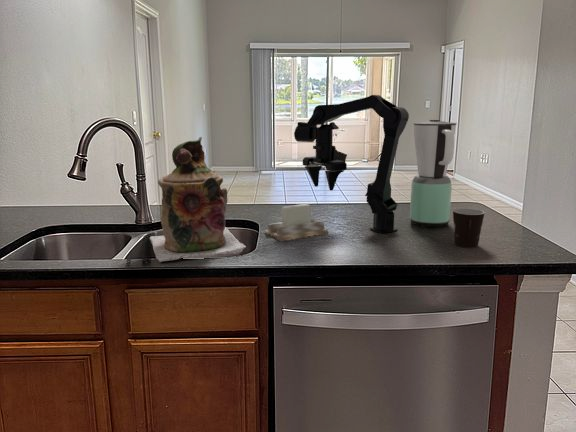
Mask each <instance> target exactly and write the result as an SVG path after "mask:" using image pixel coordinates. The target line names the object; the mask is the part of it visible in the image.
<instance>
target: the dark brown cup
mask: <svg viewBox="0 0 576 432" xmlns="http://www.w3.org/2000/svg"><path fill="white" fill-rule="evenodd" d="M484 217H485V211H483V210H481V209H476V208H469V207H468V208H466V207H465V208H462V207H461V208H456V209H453V210H452V219H453V220H452V221H453V235H454V238H453V239H454V245H455V246H457V247H459V248H464V249H465V248H466V249H474V248H477V247H478V246H479V243H480V236H481V233H482V227H483V224H484V223H483V222H484Z"/></svg>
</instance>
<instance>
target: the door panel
mask: <svg viewBox="0 0 576 432" xmlns="http://www.w3.org/2000/svg"><path fill="white" fill-rule="evenodd" d="M311 218H312V205H311V204H308V203H302V204H295V205H287V206H286V205H285V206H281V222H282V227H286V226H293V225H299V224H306V223H311Z"/></svg>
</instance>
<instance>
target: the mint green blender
mask: <svg viewBox="0 0 576 432" xmlns="http://www.w3.org/2000/svg"><path fill="white" fill-rule="evenodd" d="M456 127H457V122H448V121H444V120H443V121H442V120H440V119H429V120H426V121H420V122H419V121H418V122H414V123H413V134H414V135H413V137H414V145H415V155H416V164H417V166H416V167H417V172H418V173H417V174H416V175H415V176H414V177H413V179H412V181H411V191H410V204H409V205H410V207H409V209H410V210H409V221H410V223H411V224H414V225H418V226H420V227H421V229H422V230H423V229H424V230H426V229H428V227H442V228H448V227H449V223H450V220H451V219H450V218H451V207H452V206H451V204H452V202H451V201H452V180H451V179H450V177H449V176H448V175H447V172H448V166H449V165H450V163H451V162H452V161H453V159H454V152H455V151H454V150H455V134H456V129H457V128H456Z"/></svg>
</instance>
